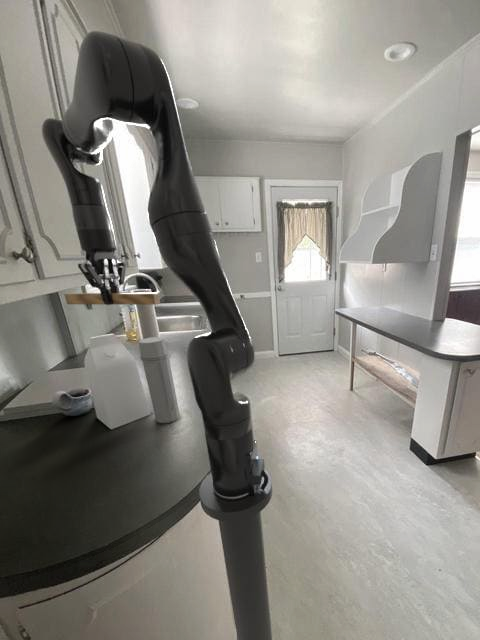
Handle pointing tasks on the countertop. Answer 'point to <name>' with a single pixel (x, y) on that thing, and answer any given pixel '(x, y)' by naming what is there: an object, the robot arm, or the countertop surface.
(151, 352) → the water bottle
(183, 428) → the countertop surface
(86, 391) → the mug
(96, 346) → the milk
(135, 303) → the stick
